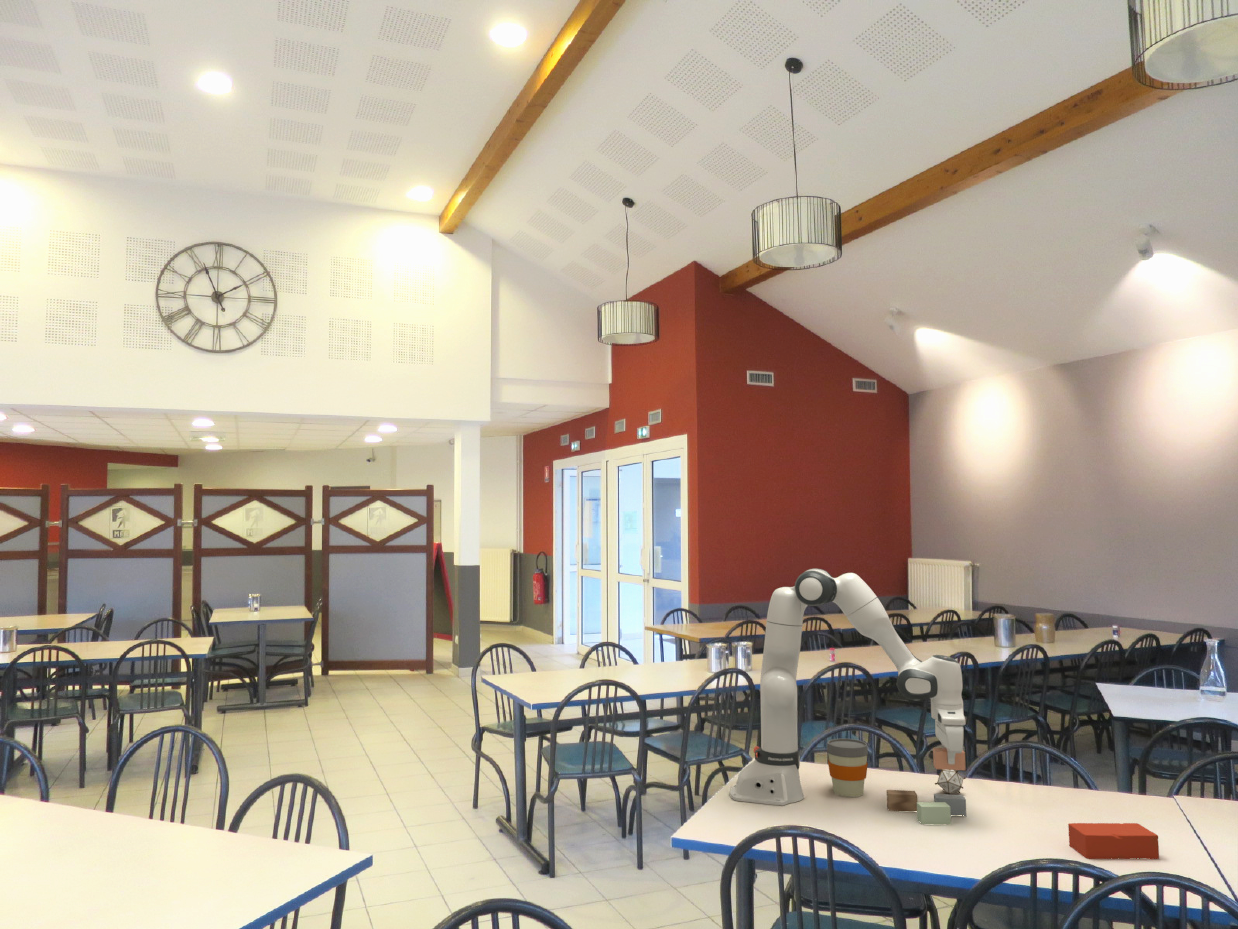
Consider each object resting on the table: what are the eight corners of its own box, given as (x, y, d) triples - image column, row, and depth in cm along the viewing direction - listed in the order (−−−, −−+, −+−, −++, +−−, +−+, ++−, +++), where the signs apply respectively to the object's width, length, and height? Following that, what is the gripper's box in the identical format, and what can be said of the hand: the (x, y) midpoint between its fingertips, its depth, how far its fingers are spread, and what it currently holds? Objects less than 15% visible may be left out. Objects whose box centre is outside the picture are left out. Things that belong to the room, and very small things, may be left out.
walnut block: (889, 811, 250) (888, 794, 250) (887, 807, 254) (886, 789, 254) (917, 812, 249) (917, 795, 249) (915, 808, 253) (914, 791, 253)
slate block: (936, 816, 246) (936, 798, 246) (934, 811, 250) (933, 793, 250) (966, 817, 245) (965, 799, 245) (963, 813, 249) (962, 795, 249)
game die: (957, 807, 264) (973, 786, 259) (931, 797, 264) (946, 776, 260) (953, 785, 272) (968, 764, 267) (928, 775, 272) (942, 754, 267)
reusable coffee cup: (819, 789, 271) (818, 741, 272) (850, 784, 276) (849, 736, 277) (845, 801, 259) (844, 750, 260) (878, 795, 264) (876, 745, 266)
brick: (1138, 846, 222) (1137, 823, 223) (1159, 860, 213) (1158, 835, 214) (1068, 846, 223) (1067, 822, 223) (1086, 860, 214) (1085, 835, 214)
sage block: (921, 825, 239) (921, 807, 239) (917, 820, 243) (916, 802, 243) (950, 825, 238) (950, 807, 239) (945, 820, 242) (945, 802, 243)
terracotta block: (936, 769, 247) (935, 751, 247) (933, 765, 251) (932, 748, 251) (965, 770, 246) (964, 752, 246) (962, 766, 250) (961, 749, 250)
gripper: (929, 704, 260) (930, 751, 259) (943, 720, 240) (944, 770, 239) (950, 705, 259) (952, 752, 258) (966, 720, 239) (968, 771, 238)
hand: (949, 761), depth 248 cm, fingers closed on terracotta block, 4 cm apart
